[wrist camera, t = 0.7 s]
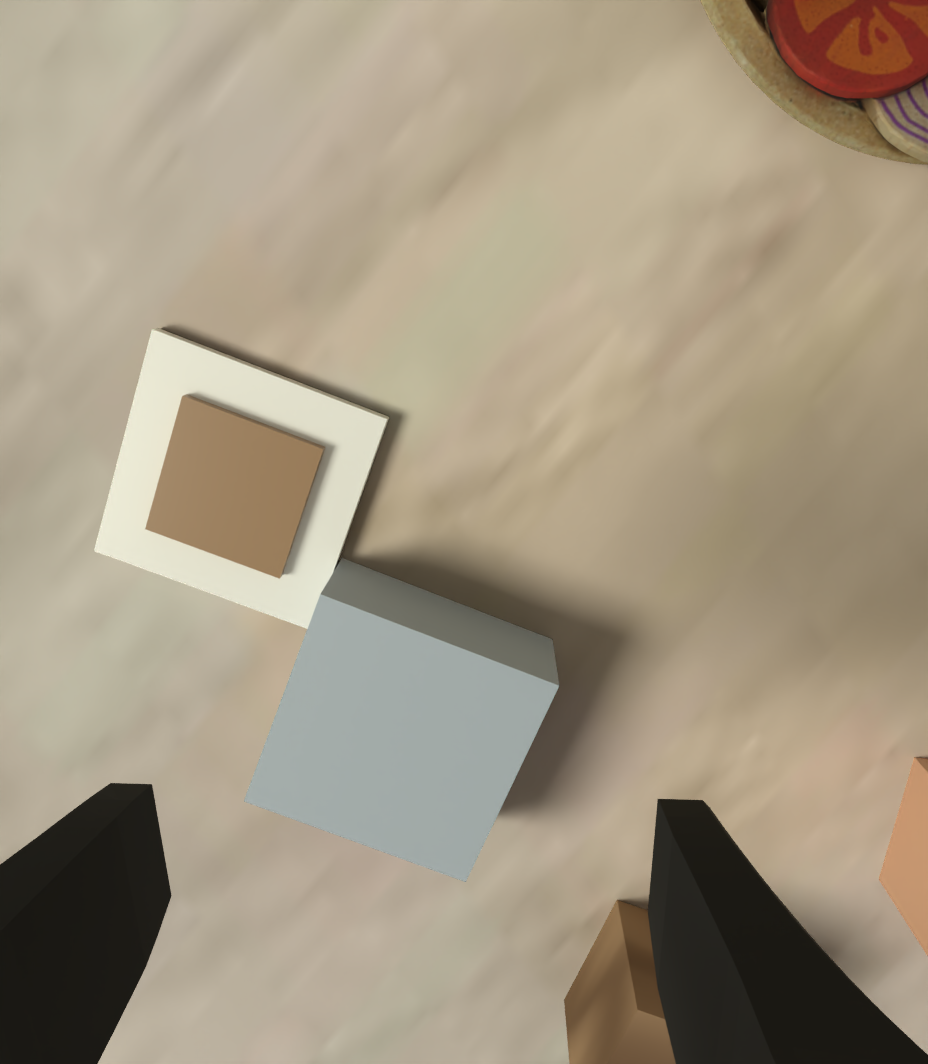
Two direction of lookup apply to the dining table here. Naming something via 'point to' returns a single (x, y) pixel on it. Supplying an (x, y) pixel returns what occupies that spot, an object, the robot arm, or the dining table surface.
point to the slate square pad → (404, 720)
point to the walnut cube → (618, 997)
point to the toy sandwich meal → (838, 66)
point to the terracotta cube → (910, 854)
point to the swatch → (237, 478)
